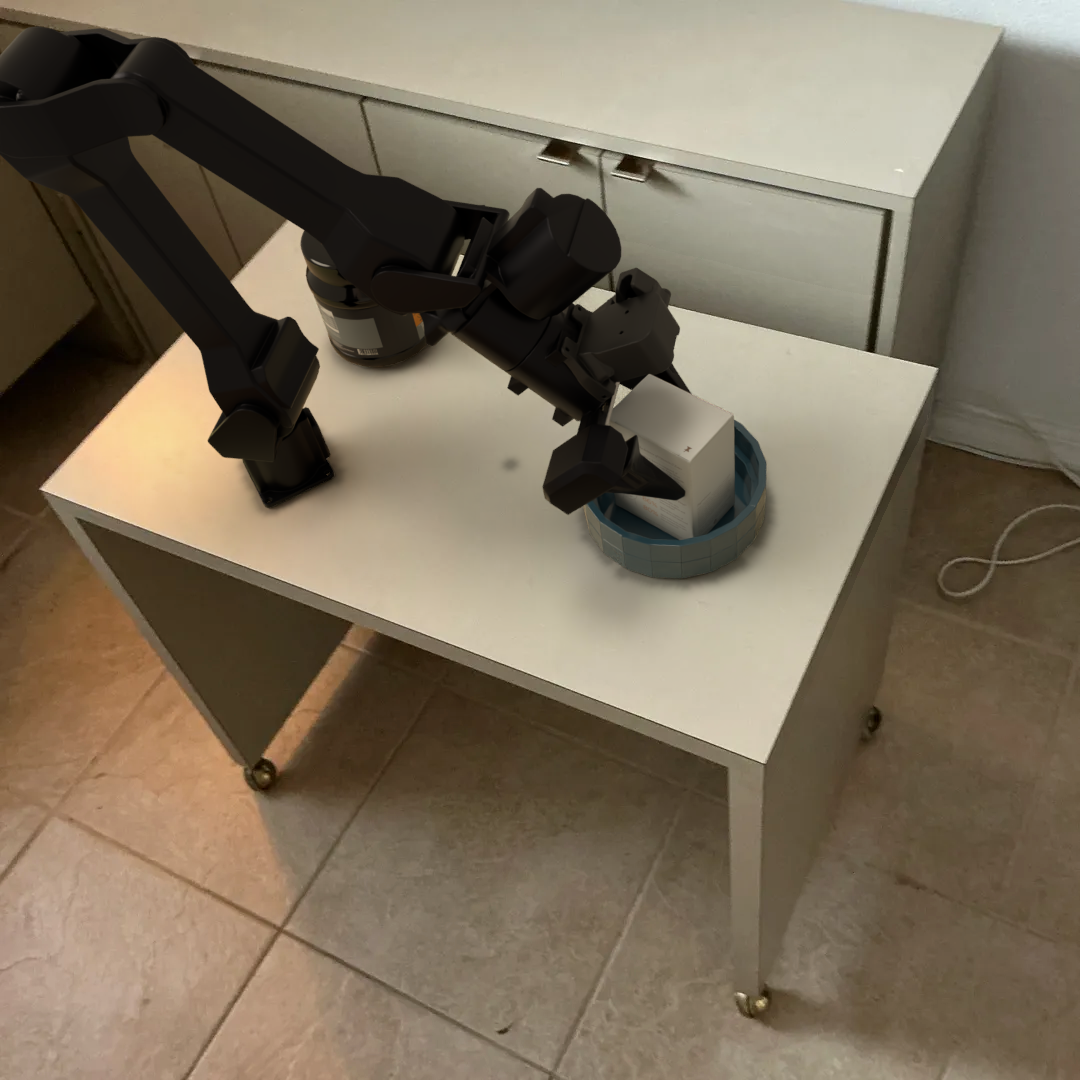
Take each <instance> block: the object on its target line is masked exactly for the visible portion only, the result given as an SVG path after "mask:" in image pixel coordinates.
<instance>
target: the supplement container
mask: <svg viewBox="0 0 1080 1080" xmlns="http://www.w3.org/2000/svg"><path fill="white" fill-rule="evenodd" d="M299 244H300V250H301V254H302V256H303V258H304V261H305V263H306V269H305V278H306V283H307V285H308V288H309V290H310V292H311V293H312V296H313V297H314V300H315V302H316V305H317V308H318V311H319V314H320V316H321V319H322V321H323V324H324V327H325V329H326V332H327V336H328V339H329V340H328V341H329V343H330V345H331V347H332V348H333V350H334V351H335V353H337V355H339V357H340V358H342V359H343V360H345V361H346V362H348V363H350V364H353V365H356V366H359V367H363V368H384V367H389V366H393V365H397V364H400V363H402V362H405V361H407V360H409V359H411V358H413V357H415V356H416V355H417V354H419V353H420V352H421V351H423V350H424V349H425V348H426V347H427V346H428V345H427V344H426V342H425V335H424V324H423V321H422V318H421V316H420V314H419V313H408V314H407V315H406V316H402V315H398V314H395V313H392V312H390V311H388V310H385V309H384V308H382V307H381V306H379V305H378V304H376V303H375V302H374V301H373V300H371V299H370V298H369V297H367V296H366V295H365V294H364V293H362V292H361V291H360V290H359V289H357V288H356V287H355V286H354V285H352V284H351V283H350V282H349V281H347V280H346V279H345V278H344V277H343V276H342V275H341V274H340V272H339V271H338V269H337V267H336V266H335V264H334V263H333V261H332V259H331V258H330V256H329V254H328V253H327V251H326V249H325V248H324V246H323V245H322V244H321V243H320V242H319V241H318V240H316V239H315V238H314V237H313V236H311V235H310V234H309V233H307V232H306V231H304V230H303V231H302V234H301V237H300V243H299Z"/></svg>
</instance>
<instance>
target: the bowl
mask: <svg viewBox="0 0 1080 1080" xmlns="http://www.w3.org/2000/svg"><path fill="white" fill-rule="evenodd" d="M763 452H764V451H763V450H762V448H761V445H760V443H759V441H758V440H757V438H755V436H754V435H753V434H752V433H751V432H750V431H749V430H748V429H747V428H746V426H744V425H743V424H742V423H741V422H739V421H737V420H736V419H734V459H735V504H734V505H733V506H732V507H731V508H730V509H729V510H728V512H727V513H726V514H725V515H724V516H723V517H722V518H721V519H720V520H719V522H718V523H717V524H716V525H715V526H714V527H713V528H712V529H711V531H710V532H709V533H708V534H706V535H701V536H697V537H692V538H688V539H683V540H679V539H677V538H675V537H673V536H671V535H670V534H668V533H666V532H664V531H662V530H661V529H659V528H657V527H655V526H654V525H652V524H650V523H648V522H646V521H645V520H643V519H641V518H639V517H637V516H636V515H634V514H632V513H630V512H629V511H627V510H625V509H623V508H621V507H620V506H618V505H616V503H615V495H614V493H604V494H602V495H601V496H599V497H597V498H596V499H594V500H592V501H591V502H589V503H587V504H586V505H584V506H582V507H583V512H584V516H585V517H584V518H585V520H586V524H587V525H586V526H587V528H588V532H589V535H590V537H591V538H592V540H593V541H594V543H595V544H596V545H597V546H598V548H599V550H601V551H602V553H603V554H604V555H605V556H606V557H608V558H610V559H611V560H612V561H614V562H615V563H616V564H618V565H620V566H621V567H622V568H623V569H626V570H629V571H631V572H634V573H638V574H641V575H644V576H646V577H650V578H656V579H658V578H659V579H687V578H692V577H696V576H700V575H705V574H710V573H713V572H715V571H717V570H718V569H721V568H723V567H725V566H726V565H728V564H730V563H732V562H733V561H735V560H737V559H738V558H739V557H740V556H741V555H742V554H743V553H744V552H745V551H746V550H747V549H748V548H749V547H750V546H751V545H752V544H753V543H754V542H755V540H756V538H757V536H758V534H759V532H760V529H761V527H762V525H763V523H764V521H765V518H766V517H765V515H766V497H767V496H766V495H767V469H768V468H767V467H768V466H767V465H768V463H767V460H766V457H765V455H764V453H763Z"/></svg>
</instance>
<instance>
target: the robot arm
mask: <svg viewBox="0 0 1080 1080" xmlns="http://www.w3.org/2000/svg"><path fill="white" fill-rule="evenodd" d="M147 136H153V137H155V138H156V139H158V140H159V141H162V142H163V143H164V144H166V145H167V146H169V147H170V148H172V149H174V150H176V151H177V152H179V153H180V154H182V155H184V157H187V158H188V159H189V160H192V161H193V162H194V163H196V164H198V165H199V166H200V167H203V168H204V169H206V170H208V171H209V172H211V173H212V174H214V175H215V176H217V177H218V178H220V179H222V180H223V181H225V182H226V183H228V184H229V185H231V186H232V187H234V188H236V189H237V190H239V191H241V192H242V193H244V194H245V195H247V196H248V197H250V198H252V199H253V200H255V201H257V202H258V203H260V204H261V205H263V206H265V207H266V208H268V209H269V210H271V211H273V212H274V213H276V214H278V215H279V216H281V217H282V218H284V219H285V220H287V221H289V222H291V223H292V224H294V225H295V226H297V227H298V228H299V229H301V230H303V232H304V231H306V232H307V233H309V234H310V235H311V236H313V237H314V238H315V239H316V240H318V241H319V242H320V243H321V244H322V245H323V246H324V248H325V249H326V251H327V253H328V254H329V256H330V258H331V259H332V261H333V263H334V264H335V266H336V267H337V269H338V271H339V272H340V274H341V275H342V276H343V277H344V278H345V279H346V280H347V281H349V282H350V283H351V284H352V285H354V286H355V287H356V288H357V289H359V290H360V291H361V292H362V293H364V294H365V295H366V296H367V297H369V298H370V299H371V300H373V301H374V302H375V303H376V304H378V305H379V306H381V307H382V308H384V309H385V310H388V311H390V312H392V313H395V314H398V315H402V316H406V315H407V314H408V313H419V314H420V316H421V318H422V321H423V324H424V335H425V342H426V344H427V345H426V346H429V347H435V346H436V345H437V344H438V343H439V342H440V341H442V340H443V339H444V338H445V337H446V336H447V335H448V334H450V335H452V336H453V337H455V338H456V339H458V340H459V341H461V342H462V343H464V344H465V345H466V346H468V347H469V348H470V349H472V350H474V351H475V352H476V353H477V354H479V355H480V356H482V357H483V358H485V359H486V360H487V361H489V362H490V363H492V364H494V365H495V366H496V367H497V368H499V369H500V370H502V371H503V372H505V373H506V374H507V375H509V376H510V378H509V382H508V384H507V388H506V389H508V390H509V391H510V392H512V393H513V394H515V395H516V396H518V397H519V396H521V394H523V393H524V392H525V391H527V390H528V389H529V390H531V392H533V393H535V394H536V395H537V396H538V397H540V398H542V399H543V400H545V401H546V402H547V403H549V404H550V405H551V406H553V407H554V411H553V414H552V418H551V420H552V421H554V422H555V423H556V424H558V425H559V426H561V427H565V426H566V425H568V424H569V423H570V422H572V421H573V420H575V421H577V422H579V425H578V428H577V431H576V432H577V433H576V434H574V435H573V436H572V437H570V438H569V439H567V440H566V441H564V442H563V443H562V444H559V446H557V447H556V448H554V449H553V450H552V452H551V456H550V459H549V463H548V465H547V469H546V473H545V476H544V479H543V484H542V492H543V497H544V499H545V500H546V501H547V502H548V503H549V504H550V505H552V506H553V507H555V508H556V509H558V510H559V511H561V512H563V513H564V514H566V515H567V516H569V515H571V514H572V513H574V512H575V511H577V510H579V509H581V508H582V507H583V506H584V505H586V504H587V503H589V502H591V501H592V500H594V499H596V498H597V497H599V496H601V495H602V494H604V493H623V494H631V495H638V496H645V497H653V498H660V499H667V500H674V501H676V500H679V499H681V498H682V497H684V496H685V490H684V489H683V488H682V487H681V486H680V485H679V484H678V483H677V482H676V481H675V480H673V479H672V478H671V477H670V476H668V475H667V474H666V473H664V472H663V471H662V470H661V469H659V468H658V467H657V466H655V465H654V464H653V463H652V462H650V461H649V460H648V459H646V458H645V457H644V456H642V455H641V453H640V449H639V442H638V436H637V435H635V436H633V437H631V438H630V439H628V440H627V441H625V440H624V438H623V435H622V434H621V433H620V432H619V431H617V430H616V429H614V428H613V427H612V426H610V425H609V422H610V418H611V415H612V411H613V408H614V407H615V402H616V398H617V394H618V391H619V387H620V386H622V387H625V388H626V389H629V390H630V391H632V390H633V389H634V388H635V387H636V386H637V385H638V384H639V383H640V382H641V381H642V380H643V379H644V378H645V377H646V376H647V375H648V374H651V375H653V376H655V377H657V378H659V379H661V380H663V381H666V382H668V383H670V384H672V385H674V386H676V387H678V388H680V389H682V390H684V391H686V392H688V393H690V394H692V395H693V393H692V392H691V390H690V389H689V387H688V386H687V384H686V383H685V381H684V380H683V378H682V376H681V375H680V374H679V372H678V370H677V369H676V368H675V366H674V363H673V361H674V359H675V346H676V341H677V337H678V336H679V335H680V333H681V327H680V325H679V323H678V322H677V320H676V319H675V316H674V315H673V314H672V312H671V311H670V309H669V305H670V301H671V296H672V292H671V290H669V289H668V288H665V287H662V286H661V284H660V283H659V282H658V280H657V279H655V278H654V277H652V276H651V275H649V274H648V273H646V272H645V271H643V270H642V269H640V268H638V267H633V268H631V269H628V270H624V271H621V272H619V275H618V278H617V283H616V286H615V292H614V293H615V294H614V295H613V296H611V297H610V298H608V299H607V300H606V301H605V302H603V303H602V304H601V305H600V306H599V307H597V308H596V309H595V310H593V311H590V310H588V309H587V308H585V307H584V306H582V305H581V304H580V303H576V304H575V302H576V301H577V300H578V299H580V298H581V297H582V296H584V295H585V294H586V293H587V292H588V291H589V290H590V289H592V288H593V287H594V286H595V285H597V284H598V283H599V282H600V281H601V280H603V279H604V278H605V277H606V276H608V275H609V273H611V272H613V270H615V269H616V268H617V267H618V265H619V264H620V262H621V259H622V243H621V238H620V235H619V234H618V231H617V228H616V227H615V225H614V223H613V222H612V219H611V218H610V217H609V215H607V214H606V212H605V211H604V210H603V209H602V207H600V206H599V205H598V204H597V203H596V202H594V201H593V200H592V199H590V198H588V197H587V198H583V197H582V196H579V195H576V194H572V193H561V194H558V195H555V196H554V197H553V196H552V195H551V194H550V193H549V192H547V191H546V190H545V189H544V188H542V187H536V188H534V190H533V191H532V192H531V193H530V194H529V195H528V196H527V197H526V199H525V200H524V201H523V204H522V205H521V207H520V208H519V209H518V210H517V211H516V212H515V213H514V214H512V215H511V217H510V211H509V210H508V209H506V208H501V207H495V206H487V205H485V204H475V203H468V202H461V201H457V200H456V201H455V200H448V199H442V198H441V197H439V196H438V195H436V194H433V193H431V192H429V191H427V190H425V189H423V188H421V187H419V186H417V185H415V184H413V183H412V182H409V181H407V180H405V179H402V178H400V177H397V176H389V175H380V174H379V175H378V174H372V173H370V174H369V173H364V172H361V171H360V170H357V169H355V168H353V167H351V166H349V165H347V164H346V163H344V162H342V161H341V160H340V159H338V158H336V157H335V156H334V155H332V154H331V153H329V152H327V151H326V150H324V149H323V148H321V147H320V146H318V145H317V144H315V143H314V142H312V141H311V140H309V139H307V138H306V137H304V136H303V135H302V134H300V133H299V132H297V131H296V130H294V129H293V128H291V127H290V126H288V125H286V124H285V123H283V122H282V121H280V120H279V119H278V118H276V117H274V116H272V115H271V114H270V113H268V112H266V111H265V110H264V109H263V108H261V107H259V106H258V105H256V104H255V103H253V102H252V101H250V100H248V99H247V98H246V97H244V96H243V95H241V94H239V93H238V92H236V91H235V90H234V89H232V88H231V87H229V86H228V85H226V84H225V83H223V82H222V81H219V80H218V79H217V78H215V77H214V76H212V75H211V74H209V73H208V72H206V71H205V70H203V69H202V68H200V67H198V66H197V65H196V64H194V61H193V59H192V58H191V57H190V56H189V54H188V53H187V51H186V50H185V49H183V47H181V46H180V45H179V44H178V43H176V42H174V41H173V40H170V39H168V38H166V37H158V36H152V37H140V38H129V37H127V36H124V35H121V34H119V33H117V32H114V31H111V30H109V29H107V28H103V27H99V28H87V29H78V30H77V29H76V30H66V31H58V30H56V29H54V28H52V27H51V28H50V27H45V26H41V25H38V26H31V27H27V28H25V29H23V30H22V31H21V32H19V33H18V34H17V35H16V37H14V39H12V41H11V42H10V43H9V44H8V45H7V47H6V48H5V49H4V50H3V51H2V52H1V53H0V157H1V158H3V160H5V161H6V163H8V165H10V166H11V167H12V168H13V169H14V170H15V171H16V172H17V173H18V174H19V175H21V176H22V177H23V178H24V179H25V180H28V181H29V182H32V183H35V184H38V185H40V186H41V187H42V186H43V187H45V188H48V189H50V190H53V191H55V192H58V193H60V194H63V195H66V196H68V197H70V198H71V199H72V200H73V202H75V203H76V205H77V206H78V207H79V208H80V210H81V211H82V212H83V213H84V214H85V215H86V216H87V218H88V219H89V220H90V222H92V224H93V225H94V226H95V227H96V229H98V231H99V232H100V233H101V235H103V237H104V238H105V239H106V241H107V242H108V243H109V244H110V245H111V247H113V249H114V250H115V251H116V252H117V253H118V255H119V256H120V257H121V258H122V259H123V261H124V262H125V263H126V264H127V265H128V266H129V268H130V269H131V270H132V271H133V272H134V274H135V275H136V276H137V277H138V279H139V280H140V281H141V282H142V283H143V284H144V285H145V287H146V288H147V289H148V290H149V292H150V293H151V294H152V295H153V297H155V298H156V300H157V301H158V303H160V305H161V306H162V307H163V308H164V309H165V310H166V312H167V313H168V315H170V317H171V318H172V319H173V320H174V321H175V322H176V324H177V325H178V326H179V327H180V328H181V330H182V331H183V332H184V333H185V334H186V336H187V337H188V338H189V340H191V342H192V343H193V344H194V345H195V346H196V347H197V349H198V350H199V352H200V354H201V360H202V364H203V369H204V374H205V378H206V379H205V380H206V383H207V388H208V391H209V392H208V393H210V395H211V397H212V398H213V399H214V401H215V403H216V404H217V406H218V407H219V409H220V410H221V413H220V415H219V417H218V419H217V420H216V423H215V425H214V427H213V428H212V431H211V432H210V435H209V437H208V438H207V443H208V444H209V445H210V446H211V447H212V448H213V449H214V451H216V452H217V453H218V454H219V455H220V456H221V457H222V458H225V459H234V460H235V459H236V460H241V461H242V463H243V465H244V468H245V470H246V472H247V473H248V475H249V477H250V479H251V482H252V483H253V486H254V488H255V490H256V493H257V494H258V496H259V498H260V500H261V502H262V504H263V506H264V507H265V508H267V509H271V508H273V507H276V506H278V505H280V504H282V503H285V502H286V501H289V500H290V499H293V498H295V497H297V496H299V495H301V494H303V493H306V492H307V491H310V490H311V489H314V488H316V487H318V486H320V485H323V484H324V483H327V482H329V481H330V480H332V479H334V477H335V471H334V469H333V467H332V466H331V464H330V461H329V460H328V459H329V458H330V457H331V455H332V453H331V452H330V451H331V450H330V449H329V446H328V444H327V442H326V439H325V437H324V435H323V433H322V431H321V428H320V426H319V423H318V421H317V420H316V418H315V417H314V415H313V413H312V411H311V409H310V408H309V407H306V406H305V404H306V403H307V400H308V398H309V397H310V394H311V392H312V390H313V387H314V385H315V384H316V381H317V379H318V376H319V373H320V369H321V368H320V367H321V363H320V360H319V359H318V356H317V355H318V353H319V350H320V348H319V347H318V346H317V345H315V344H314V343H312V342H311V341H310V340H309V339H308V337H307V336H305V334H304V333H303V331H302V329H301V327H300V326H299V323H298V322H297V320H296V319H294V318H293V317H291V316H285V317H281V318H280V319H277V318H274V317H272V316H268V315H265V314H263V313H260V312H257V311H255V310H254V309H252V308H251V306H250V305H249V303H248V302H247V301H246V300H245V299H244V298H243V296H242V295H241V293H240V291H238V290H237V288H236V287H235V286H234V284H233V283H232V282H231V280H230V279H229V277H228V276H227V275H226V274H225V272H224V271H223V270H222V269H221V268H220V266H219V264H217V262H216V261H215V259H214V258H213V257H212V256H211V254H210V253H209V252H208V251H207V249H206V248H205V246H204V245H203V244H202V243H201V241H200V240H199V238H197V236H196V235H195V234H194V232H193V231H192V230H191V229H190V227H189V226H188V225H187V223H186V222H185V221H184V219H183V218H182V216H180V214H179V213H178V211H177V210H176V208H174V206H173V205H172V203H170V201H169V200H168V199H167V196H165V194H164V193H163V192H162V191H161V189H160V188H159V187H158V186H157V184H156V183H155V181H154V180H153V179H152V178H151V176H150V174H148V173H147V171H146V170H145V168H143V166H142V165H141V163H140V162H139V161H138V159H137V158H136V157H135V155H134V153H133V151H132V149H131V145H130V139H129V138H132V137H147ZM467 240H468V241H469V242H468V244H467V247H466V250H465V252H464V255H463V257H462V260H461V262H460V265H459V268H458V270H457V272H456V275H453V274H454V271H455V268H456V266H457V264H458V262H459V260H460V259H459V258H460V256H461V253H462V251H463V248H464V247H465V241H467Z"/></svg>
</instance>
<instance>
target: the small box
mask: <svg viewBox="0 0 1080 1080" xmlns="http://www.w3.org/2000/svg"><path fill="white" fill-rule="evenodd" d="M734 420H735V414H734V413H732V412H730V411H729V410H726V409H724V408H722V407H720V406H718V405H715V404H713V403H711V402H710V401H707V400H705V399H703V398H701V397H698V396H697V395H695V394H693V393H692V394H690V393H688V392H686V391H684V390H682V389H680V388H678V387H676V386H674V385H672V384H670V383H668V382H666V381H663V380H661V379H659V378H657V377H655V376H653V375H651V374H648V375H647V376H646V377H645V378H644V379H643V380H642V381H641V382H640V383H639V384H638V385H637V386H636V387H635V388H634V389H633V390H630V391H629V392H628V393H627V394H626V395H625V396H624V397H623V398H622V399H621V400H620V401H619V402H618V403H617V404H616V405H614V407H613V411H612V415H611V418H610V422H609V425H610V426H612V427H613V428H614V429H616V430H617V431H619V432H620V433H621V434H622V435H623V438H624V440H625V441H627V440H628V439H630V438H631V437H633V436H635V435H637V436H638V442H639V449H640V453H641V455H642V456H644V457H645V458H646V459H648V460H649V461H650V462H652V463H653V464H654V465H655V466H657V467H658V468H659V469H661V470H662V471H663V472H664V473H666V474H667V475H668V476H670V477H671V478H672V479H673V480H675V481H676V482H677V483H678V484H679V485H680V486H681V487H682V488H683V489H684V490H685V496H684V497H682V498H681V499H679V500H676V501H674V500H667V499H660V498H653V497H645V496H638V495H631V494H623V493H614V495H615V503H616V505H618V506H620V507H621V508H623V509H625V510H627V511H629V512H630V513H632V514H634V515H636V516H637V517H639V518H641V519H643V520H645V521H646V522H648V523H650V524H652V525H654V526H655V527H657V528H659V529H661V530H662V531H664V532H666V533H668V534H670V535H671V536H673V537H675V538H677V539H679V540H683V539H688V538H692V537H697V536H701V535H706V534H708V533H709V532H710V531H711V529H712V528H713V527H714V526H715V525H716V524H717V523H718V522H719V520H720V519H721V518H722V517H723V516H724V515H725V514H726V513H727V512H728V510H729V509H730V508H731V507H732V506H733V505H734V504H735V459H734Z"/></svg>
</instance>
